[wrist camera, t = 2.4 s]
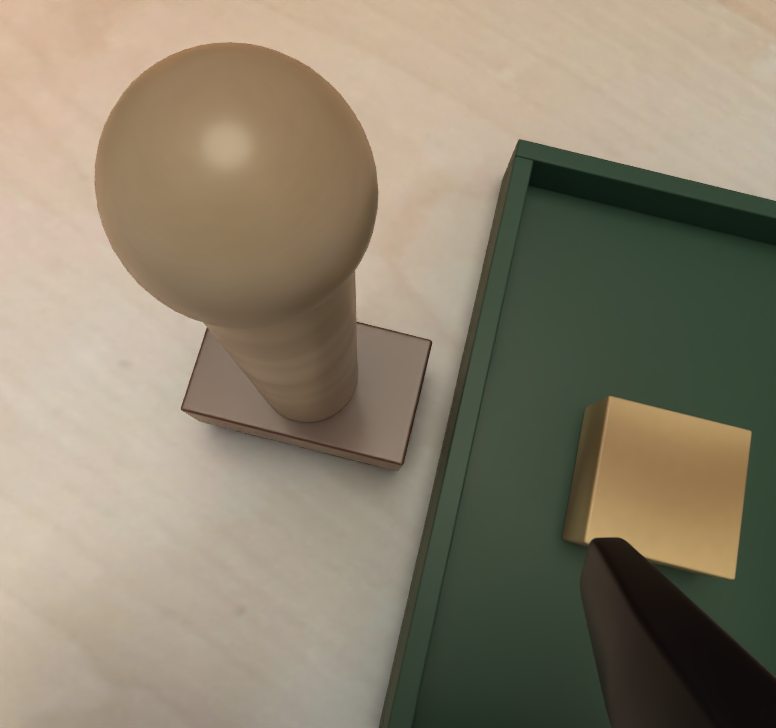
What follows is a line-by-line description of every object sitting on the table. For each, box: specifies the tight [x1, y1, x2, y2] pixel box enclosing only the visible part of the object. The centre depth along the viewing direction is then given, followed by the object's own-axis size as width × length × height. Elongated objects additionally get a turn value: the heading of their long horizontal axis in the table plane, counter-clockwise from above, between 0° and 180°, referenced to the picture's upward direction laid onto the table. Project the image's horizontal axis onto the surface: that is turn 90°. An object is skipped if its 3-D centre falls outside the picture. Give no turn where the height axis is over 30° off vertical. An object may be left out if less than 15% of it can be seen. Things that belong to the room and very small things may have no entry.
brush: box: [95, 42, 432, 471], centre depth 13 cm, size 4×6×15 cm, turn 76°
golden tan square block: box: [562, 396, 752, 580], centre depth 18 cm, size 4×4×2 cm
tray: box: [379, 139, 776, 728], centre depth 19 cm, size 18×12×2 cm, turn 166°
